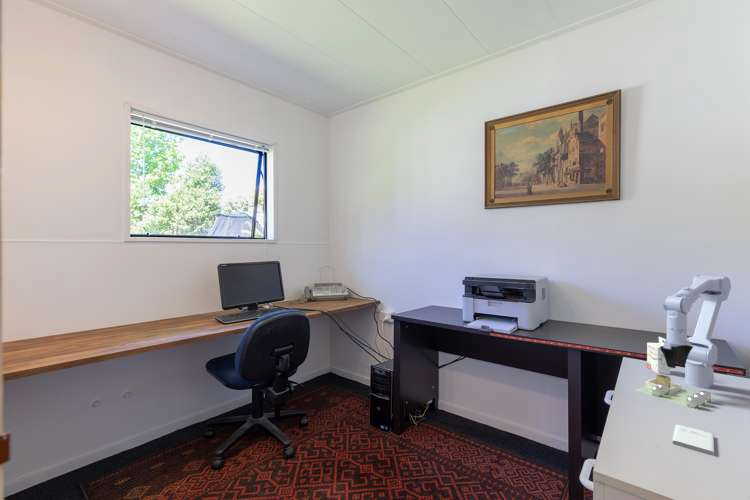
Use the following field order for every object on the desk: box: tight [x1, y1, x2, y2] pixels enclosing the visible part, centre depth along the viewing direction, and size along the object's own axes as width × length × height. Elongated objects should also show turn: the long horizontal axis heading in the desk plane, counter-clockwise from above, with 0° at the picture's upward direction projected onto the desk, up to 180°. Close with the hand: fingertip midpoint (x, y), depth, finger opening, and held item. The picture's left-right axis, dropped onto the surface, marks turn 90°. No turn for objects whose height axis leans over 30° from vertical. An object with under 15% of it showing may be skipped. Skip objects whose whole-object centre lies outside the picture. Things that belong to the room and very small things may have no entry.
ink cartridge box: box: [646, 336, 671, 375], centre depth 151 cm, size 9×5×15 cm, turn 168°
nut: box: [655, 374, 672, 388], centre depth 132 cm, size 4×5×4 cm
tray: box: [644, 377, 682, 394], centre depth 132 cm, size 8×8×2 cm
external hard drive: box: [671, 424, 715, 457], centre depth 97 cm, size 2×8×12 cm
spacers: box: [652, 384, 712, 410], centre depth 123 cm, size 12×13×3 cm
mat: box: [634, 385, 719, 411], centre depth 126 cm, size 17×18×1 cm
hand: (676, 365), depth 130 cm, fingers open, 7 cm apart
